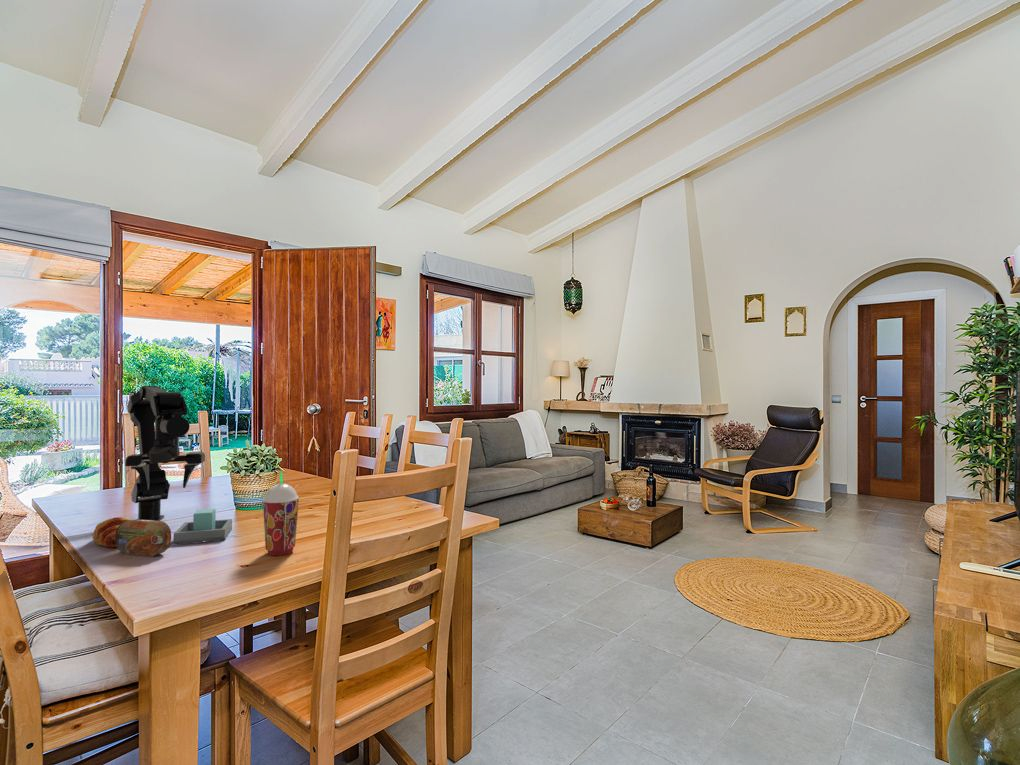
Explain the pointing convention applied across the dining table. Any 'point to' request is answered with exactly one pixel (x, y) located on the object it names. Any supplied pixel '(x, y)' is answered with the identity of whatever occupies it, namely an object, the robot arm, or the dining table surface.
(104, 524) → the croissant
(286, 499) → the smoothie
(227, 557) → the dining table surface
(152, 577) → the dining table surface
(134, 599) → the dining table surface
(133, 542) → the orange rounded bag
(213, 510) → the block
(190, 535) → the bin
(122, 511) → the dining table surface
